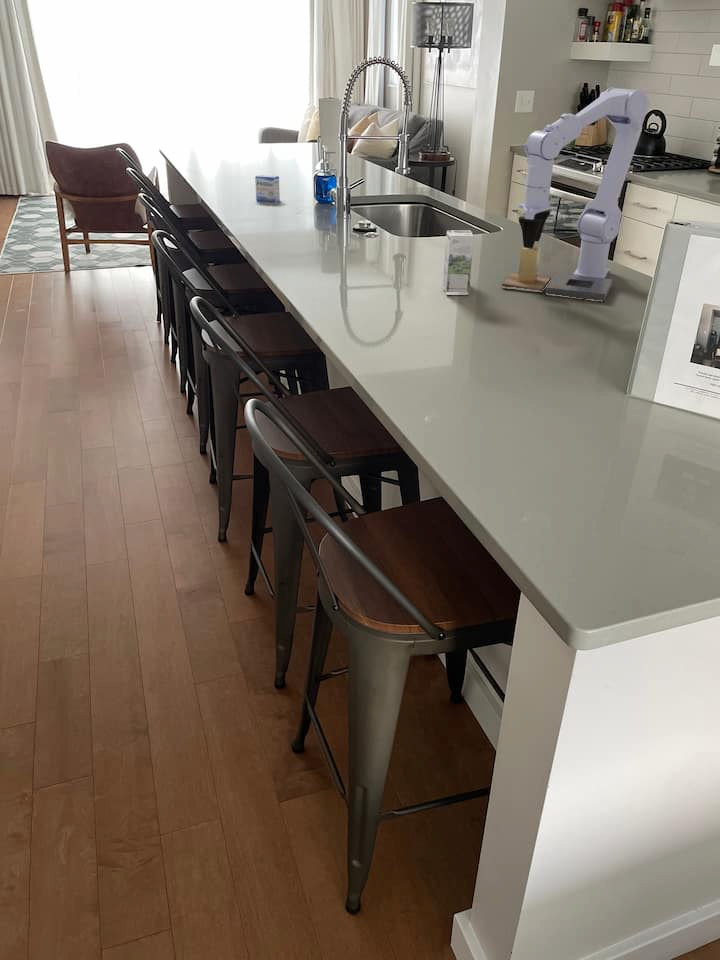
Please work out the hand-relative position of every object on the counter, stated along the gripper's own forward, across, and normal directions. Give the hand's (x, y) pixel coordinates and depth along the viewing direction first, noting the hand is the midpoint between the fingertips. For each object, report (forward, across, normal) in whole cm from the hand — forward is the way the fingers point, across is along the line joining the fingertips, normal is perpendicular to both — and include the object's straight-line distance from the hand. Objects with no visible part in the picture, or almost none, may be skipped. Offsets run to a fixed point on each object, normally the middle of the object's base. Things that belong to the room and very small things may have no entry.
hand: (531, 244), depth 194 cm
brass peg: (+9, 0, 0) cm, 9 cm away
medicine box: (+10, -73, -112) cm, 135 cm away
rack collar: (+10, 0, +13) cm, 16 cm away
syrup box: (+10, +14, -14) cm, 23 cm away
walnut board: (+10, 0, 0) cm, 10 cm away
